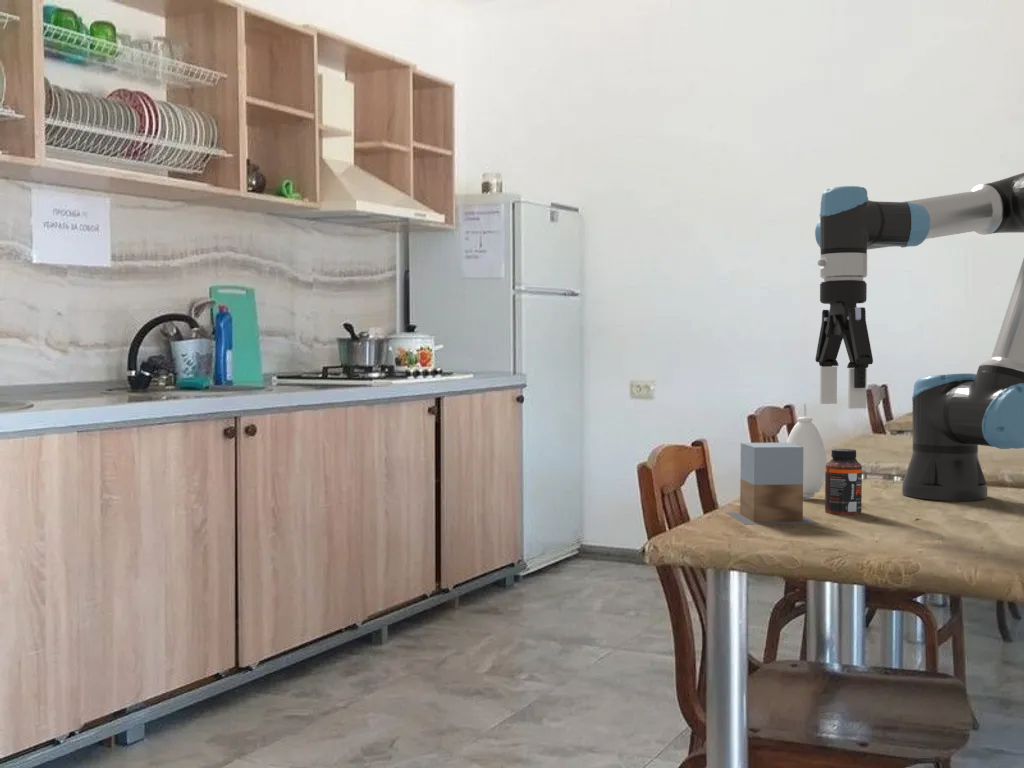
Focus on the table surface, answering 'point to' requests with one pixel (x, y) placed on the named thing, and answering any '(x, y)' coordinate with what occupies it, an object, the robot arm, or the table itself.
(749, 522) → the rubber mat
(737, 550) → the table surface
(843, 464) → the supplement bottle
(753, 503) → the walnut block
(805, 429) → the sauce bottle
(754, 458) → the slate block
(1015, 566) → the table surface
